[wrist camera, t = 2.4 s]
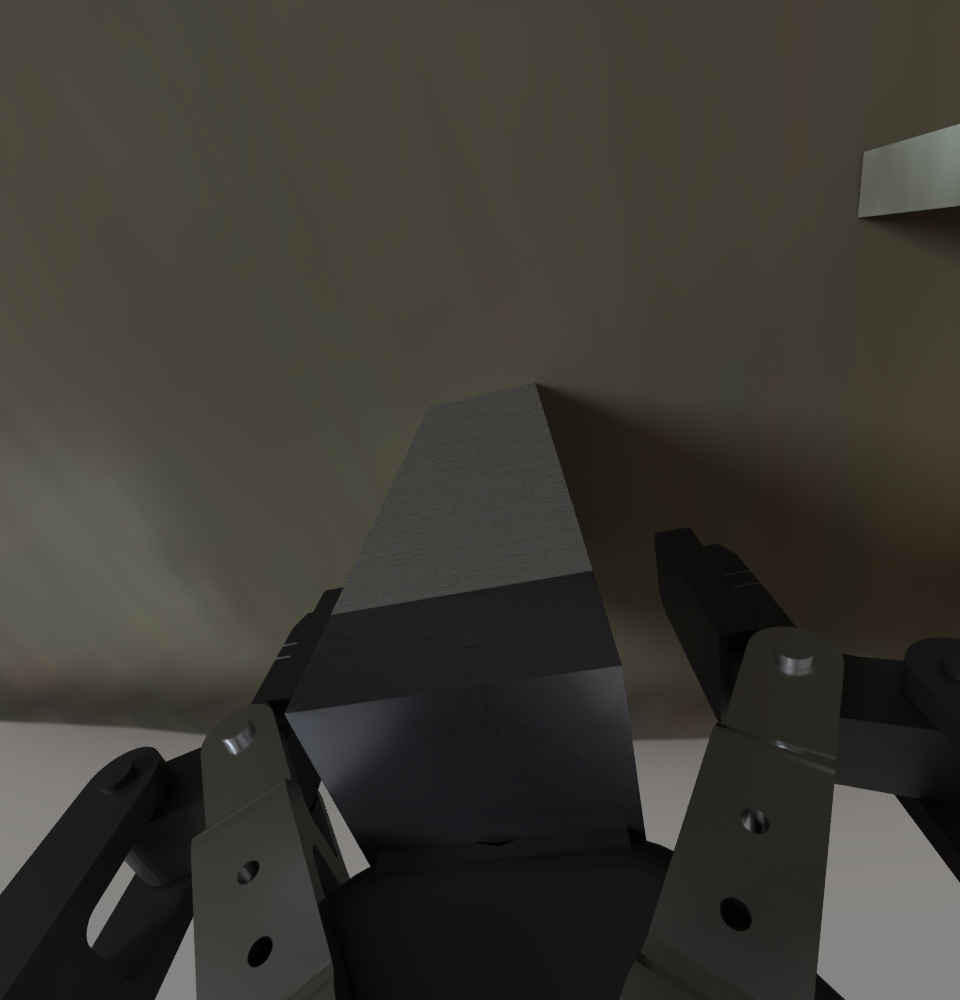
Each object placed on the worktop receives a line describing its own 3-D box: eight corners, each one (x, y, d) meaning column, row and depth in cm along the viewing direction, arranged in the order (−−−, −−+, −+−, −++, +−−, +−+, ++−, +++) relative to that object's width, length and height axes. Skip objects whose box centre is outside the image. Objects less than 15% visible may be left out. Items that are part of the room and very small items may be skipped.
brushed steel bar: (428, 406, 16) (284, 713, 5) (535, 383, 15) (621, 665, 5) (477, 581, 19) (450, 1008, 8) (568, 565, 18) (667, 995, 8)
